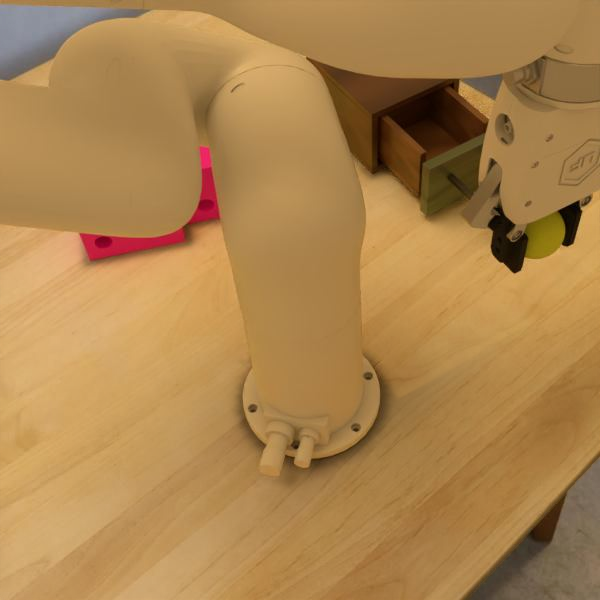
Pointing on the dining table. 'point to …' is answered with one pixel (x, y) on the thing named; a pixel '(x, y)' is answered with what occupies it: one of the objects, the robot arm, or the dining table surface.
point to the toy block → (120, 245)
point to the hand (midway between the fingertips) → (531, 246)
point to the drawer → (434, 147)
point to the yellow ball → (544, 236)
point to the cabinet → (371, 104)
